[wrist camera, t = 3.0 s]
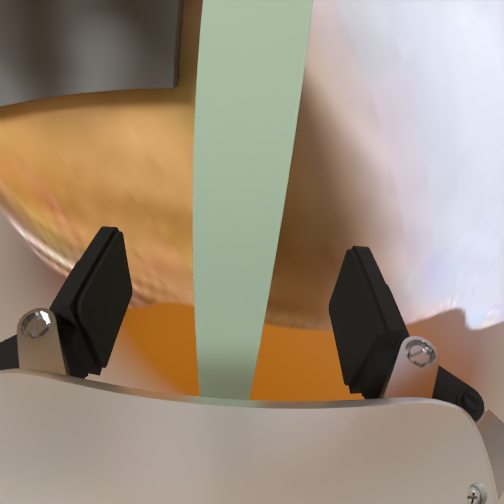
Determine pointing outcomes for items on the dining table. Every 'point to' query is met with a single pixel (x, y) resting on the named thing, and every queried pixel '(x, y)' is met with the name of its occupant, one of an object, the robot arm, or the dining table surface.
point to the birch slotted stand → (87, 46)
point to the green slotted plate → (241, 176)
